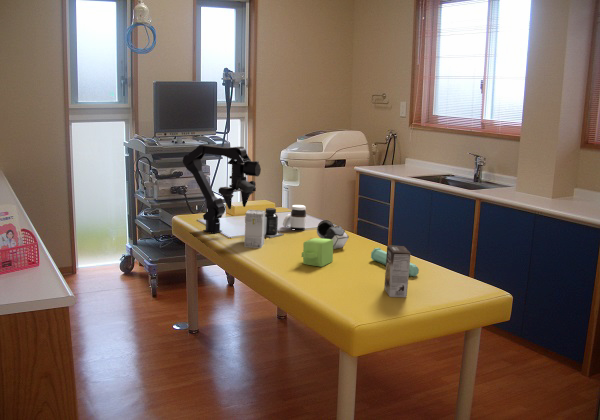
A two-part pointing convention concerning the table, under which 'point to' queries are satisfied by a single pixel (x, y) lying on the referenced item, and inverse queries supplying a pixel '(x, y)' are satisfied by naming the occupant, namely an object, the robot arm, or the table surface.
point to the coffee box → (397, 271)
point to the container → (381, 257)
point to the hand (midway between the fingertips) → (236, 207)
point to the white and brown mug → (296, 218)
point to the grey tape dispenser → (332, 233)
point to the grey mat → (274, 235)
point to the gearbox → (317, 252)
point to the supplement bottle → (271, 221)
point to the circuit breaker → (255, 228)
